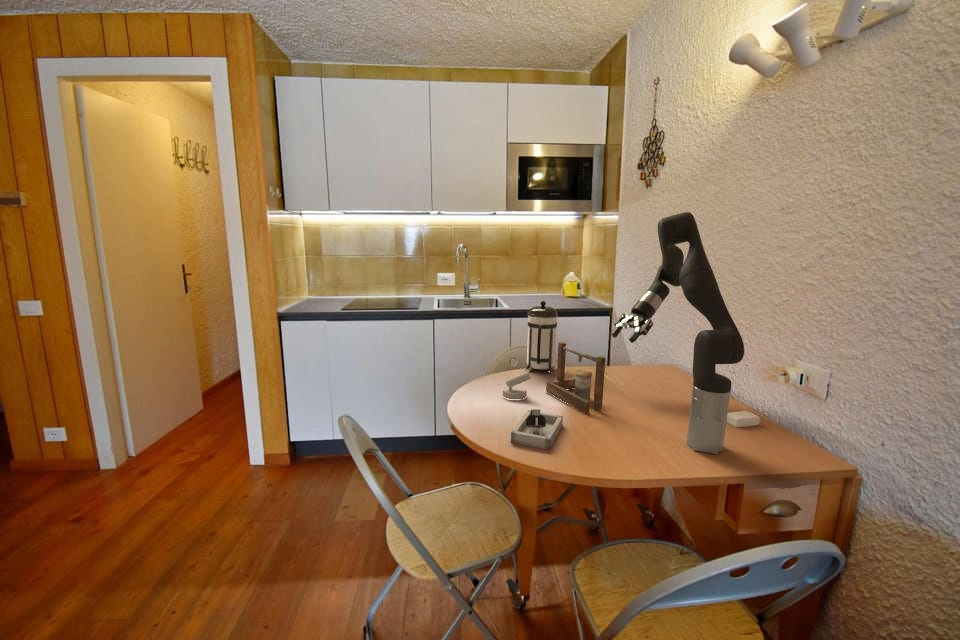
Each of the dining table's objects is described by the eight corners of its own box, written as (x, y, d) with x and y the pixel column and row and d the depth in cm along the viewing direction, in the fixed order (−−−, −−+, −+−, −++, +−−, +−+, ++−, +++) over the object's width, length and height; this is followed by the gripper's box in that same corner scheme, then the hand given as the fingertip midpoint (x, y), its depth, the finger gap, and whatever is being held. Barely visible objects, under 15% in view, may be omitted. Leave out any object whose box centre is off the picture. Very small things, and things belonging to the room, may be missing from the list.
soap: (745, 418, 143) (746, 409, 142) (759, 425, 138) (761, 416, 137) (722, 421, 140) (723, 412, 140) (736, 428, 135) (737, 419, 135)
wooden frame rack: (576, 386, 169) (579, 340, 166) (619, 406, 150) (623, 354, 146) (545, 392, 163) (547, 344, 159) (585, 414, 143) (589, 360, 140)
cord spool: (589, 403, 153) (590, 375, 151) (572, 400, 155) (574, 373, 153) (591, 397, 158) (593, 371, 156) (575, 395, 160) (577, 369, 158)
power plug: (542, 416, 137) (546, 407, 126) (542, 441, 134) (547, 434, 123) (524, 415, 137) (526, 407, 126) (524, 440, 134) (526, 433, 123)
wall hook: (533, 374, 153) (504, 374, 152) (532, 400, 154) (503, 400, 154) (529, 367, 161) (502, 367, 161) (528, 392, 163) (501, 392, 162)
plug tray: (548, 449, 119) (549, 439, 119) (510, 441, 124) (511, 432, 123) (562, 425, 135) (562, 416, 134) (527, 419, 139) (528, 410, 138)
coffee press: (514, 366, 193) (516, 299, 187) (544, 362, 200) (547, 297, 195) (537, 378, 178) (540, 305, 172) (568, 373, 185) (572, 303, 179)
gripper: (667, 316, 159) (641, 349, 156) (636, 309, 171) (612, 340, 168) (658, 302, 155) (631, 336, 152) (627, 296, 168) (602, 328, 165)
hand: (621, 338), depth 160 cm, fingers open, 8 cm apart
